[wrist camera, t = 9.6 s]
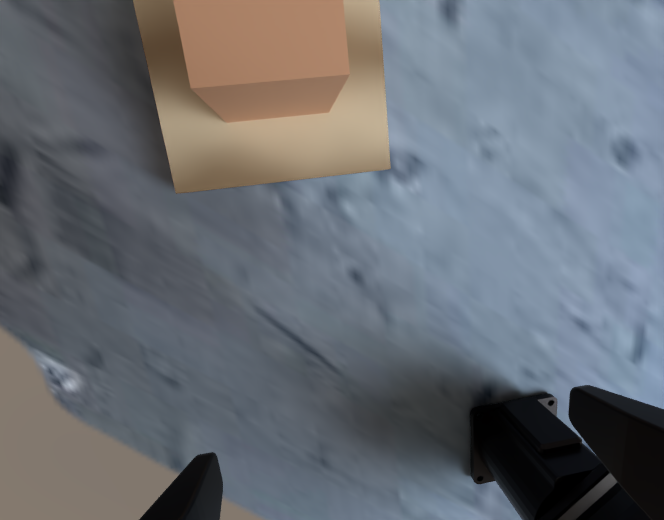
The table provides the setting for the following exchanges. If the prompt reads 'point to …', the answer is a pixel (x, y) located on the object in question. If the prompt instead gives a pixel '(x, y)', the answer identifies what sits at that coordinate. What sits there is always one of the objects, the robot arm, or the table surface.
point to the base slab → (275, 133)
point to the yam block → (264, 55)
